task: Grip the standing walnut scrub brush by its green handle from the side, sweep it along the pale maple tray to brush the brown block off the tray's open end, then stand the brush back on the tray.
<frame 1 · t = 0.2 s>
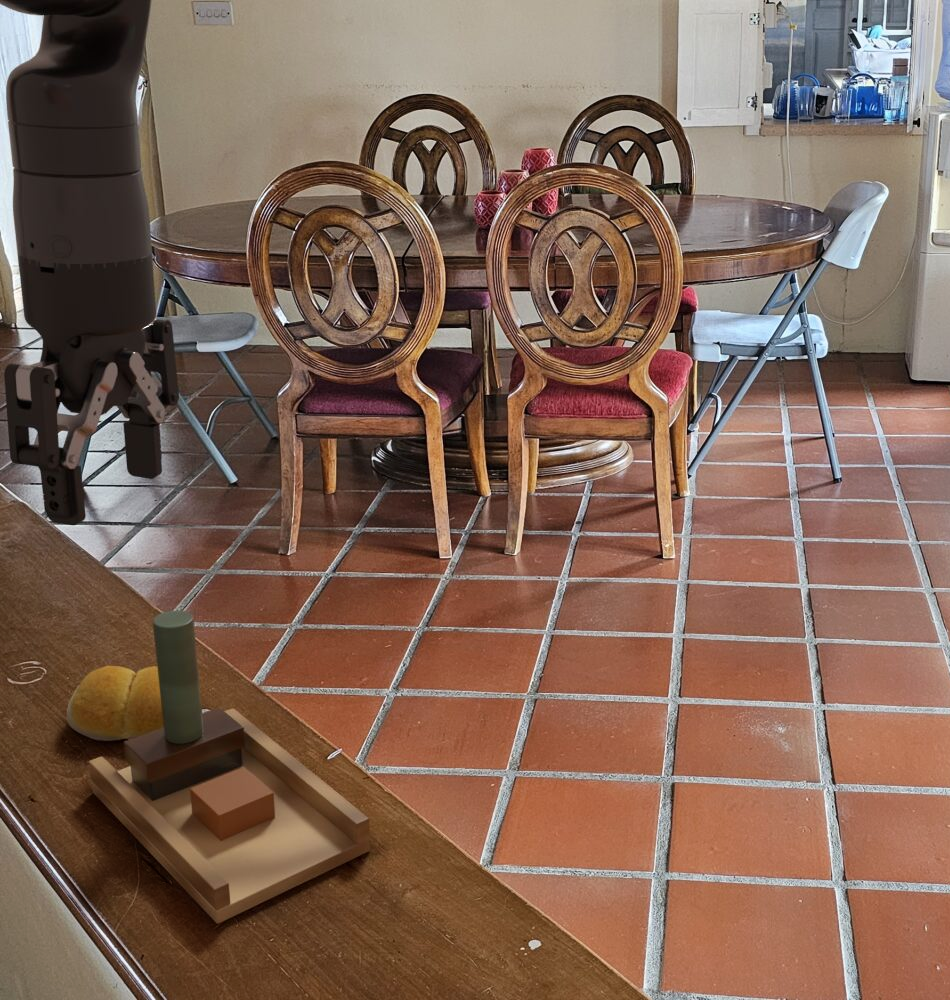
hand: (107, 498, 83), 22 cm above the table, tool pointing down, fingers open, 8 cm apart
bread roll: (132, 720, 100), on the table
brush: (188, 773, 91), point 1 cm above the table, touching tray
brown block: (233, 815, 87), point 1 cm above the table, touching tray
tray: (227, 821, 88), on the table
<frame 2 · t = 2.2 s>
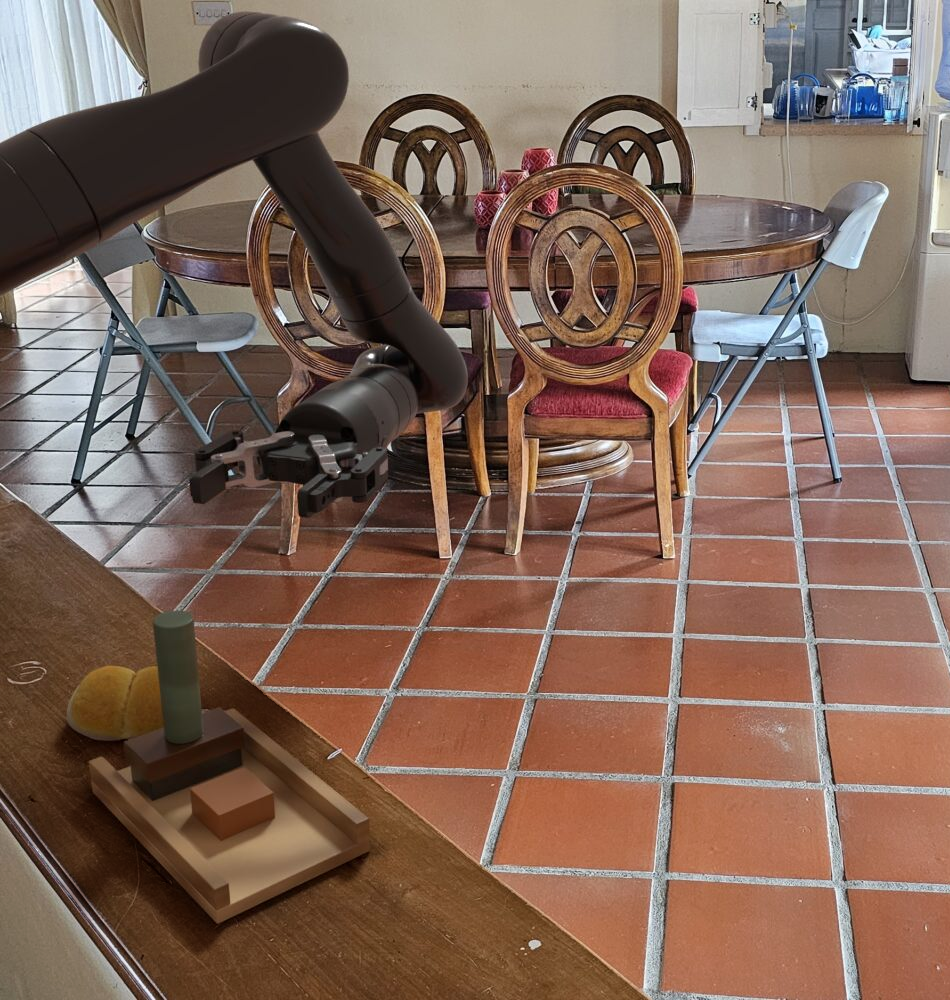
hand: (248, 498, 95), 18 cm above the table, tool horizontal, fingers open, 8 cm apart
nothing on the table moved.
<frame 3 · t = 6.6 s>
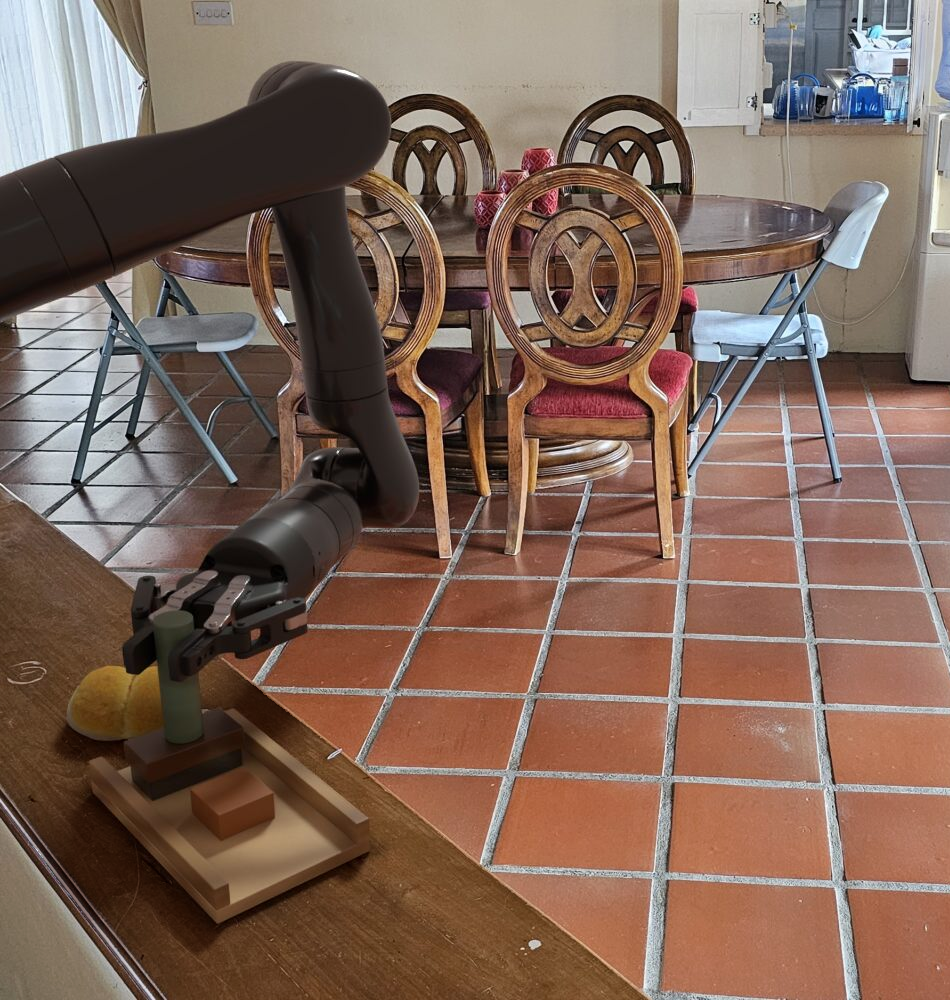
hand: (152, 665, 85), 11 cm above the table, tool horizontal, fingers closed on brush, 2 cm apart
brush: (188, 773, 91), point 1 cm above the table, touching gripper, tray
everything else where it was.
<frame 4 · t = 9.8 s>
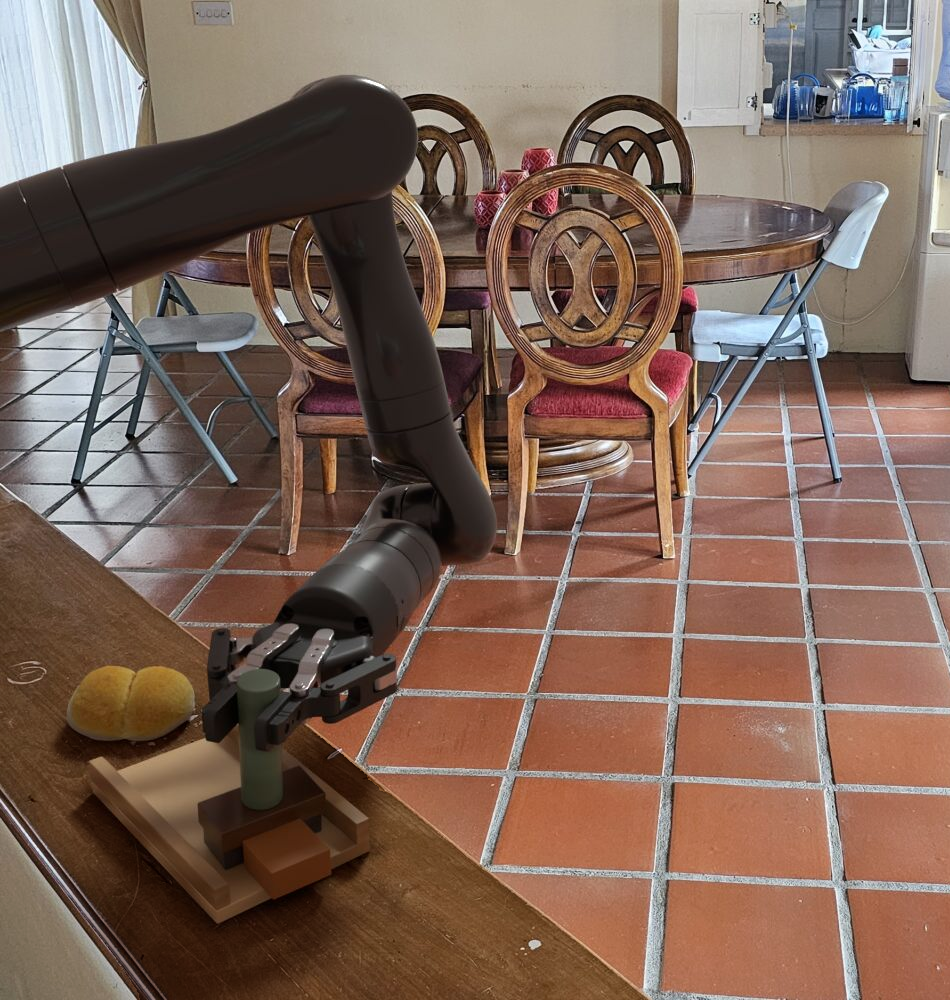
hand: (235, 733, 78), 11 cm above the table, tool horizontal, fingers closed on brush, 2 cm apart
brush: (263, 836, 85), point 1 cm above the table, touching brown block, gripper
brown block: (287, 870, 82), point 1 cm above the table, touching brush
everything else where it was.
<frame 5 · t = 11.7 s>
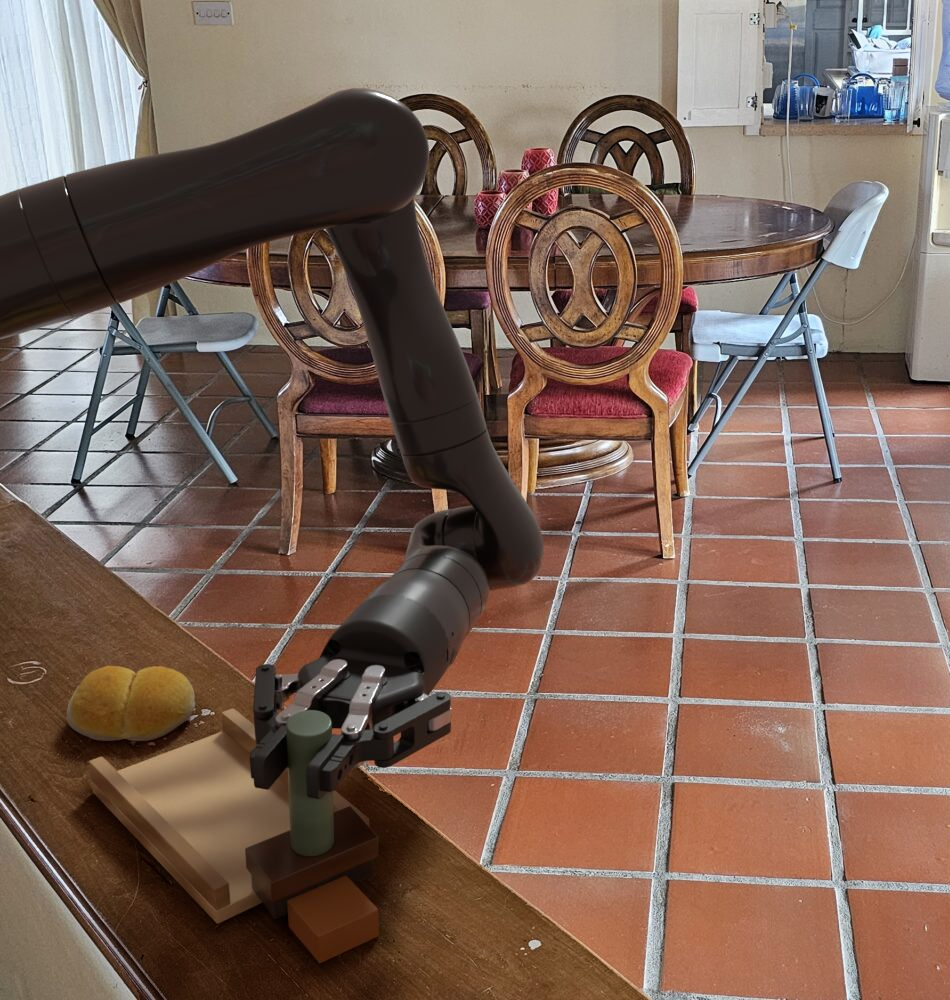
hand: (286, 779, 74), 11 cm above the table, tool horizontal, fingers closed on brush, 2 cm apart
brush: (313, 882, 81), point 1 cm above the table, tilted 5°, touching brown block, gripper
brown block: (333, 931, 78), on the table, touching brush
everything else where it was.
when the fingers open (11 cm above the table, at t = 16.6 s): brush stays where it is, resting on tray.
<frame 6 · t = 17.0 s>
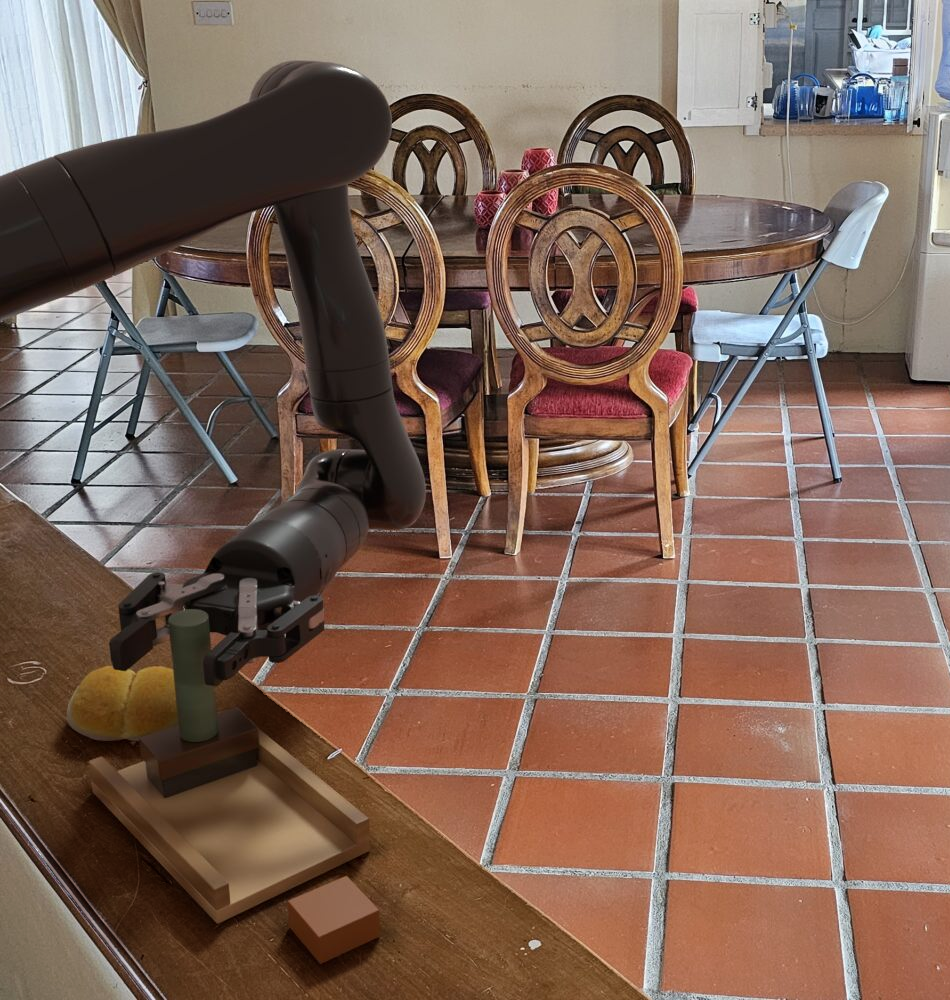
hand: (163, 665, 85), 11 cm above the table, tool horizontal, fingers open, 6 cm apart
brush: (202, 771, 92), point 1 cm above the table, touching tray
brown block: (334, 932, 78), on the table
everything else where it was.
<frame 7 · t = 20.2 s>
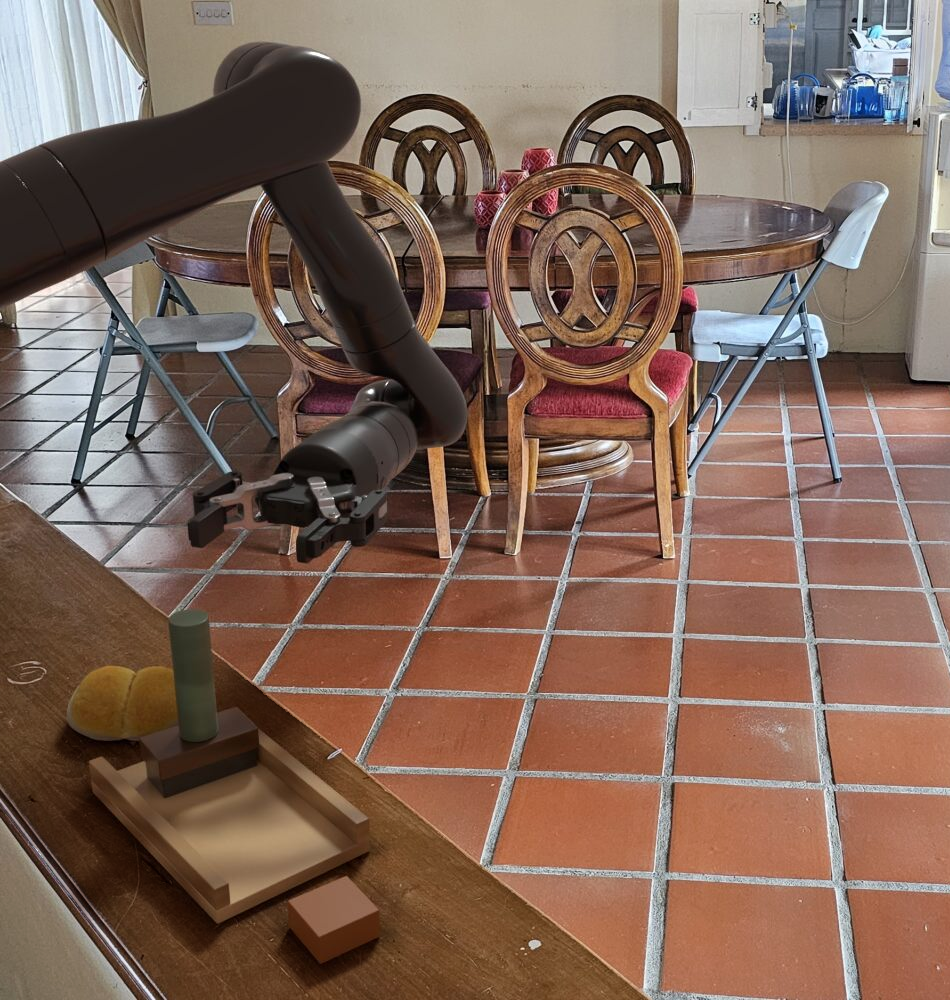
hand: (247, 543, 95), 15 cm above the table, tool horizontal, fingers open, 8 cm apart
nothing on the table moved.
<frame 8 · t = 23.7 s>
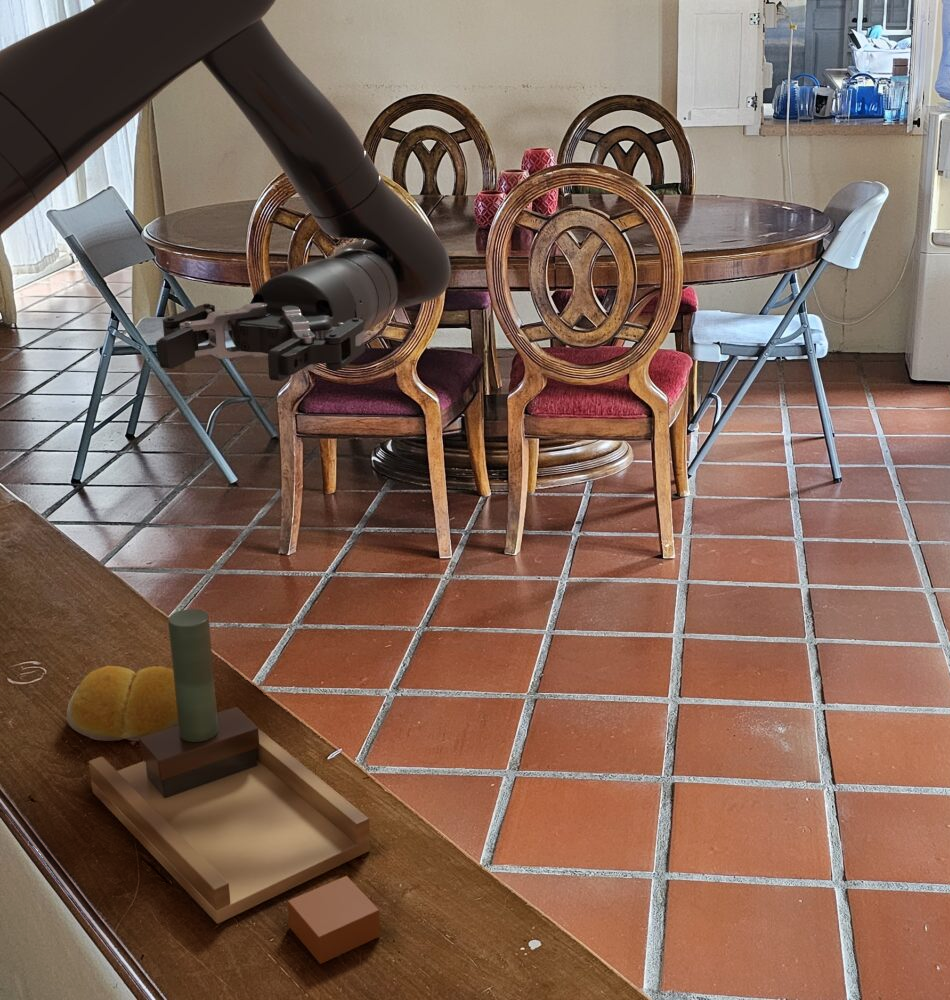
hand: (217, 361, 91), 28 cm above the table, tool horizontal, fingers open, 8 cm apart
nothing on the table moved.
at the end: brown block touching table; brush 0.9 cm from the target spot on the tray, point 1.0 cm above the tray's base; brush tilted 0° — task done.
